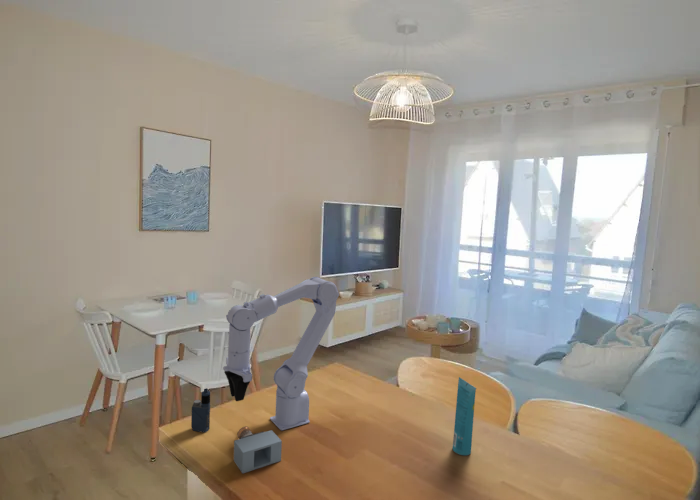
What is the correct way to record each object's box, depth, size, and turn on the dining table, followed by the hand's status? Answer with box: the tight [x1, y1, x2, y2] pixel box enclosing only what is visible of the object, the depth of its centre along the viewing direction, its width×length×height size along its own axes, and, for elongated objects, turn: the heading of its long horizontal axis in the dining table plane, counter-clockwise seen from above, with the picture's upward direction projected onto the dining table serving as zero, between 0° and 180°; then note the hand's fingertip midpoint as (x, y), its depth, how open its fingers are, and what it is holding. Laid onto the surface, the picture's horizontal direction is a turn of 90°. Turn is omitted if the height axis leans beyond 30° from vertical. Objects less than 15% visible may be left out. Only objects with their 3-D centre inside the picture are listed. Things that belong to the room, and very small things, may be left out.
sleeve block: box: [233, 429, 283, 474], centre depth 103 cm, size 6×10×5 cm, turn 125°
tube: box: [452, 376, 477, 456], centre depth 111 cm, size 7×5×19 cm, turn 26°
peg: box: [237, 425, 253, 439], centre depth 108 cm, size 7×4×4 cm, turn 35°
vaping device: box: [190, 387, 211, 433], centre depth 115 cm, size 3×5×12 cm, turn 78°
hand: (237, 397), depth 114 cm, fingers open, 3 cm apart
